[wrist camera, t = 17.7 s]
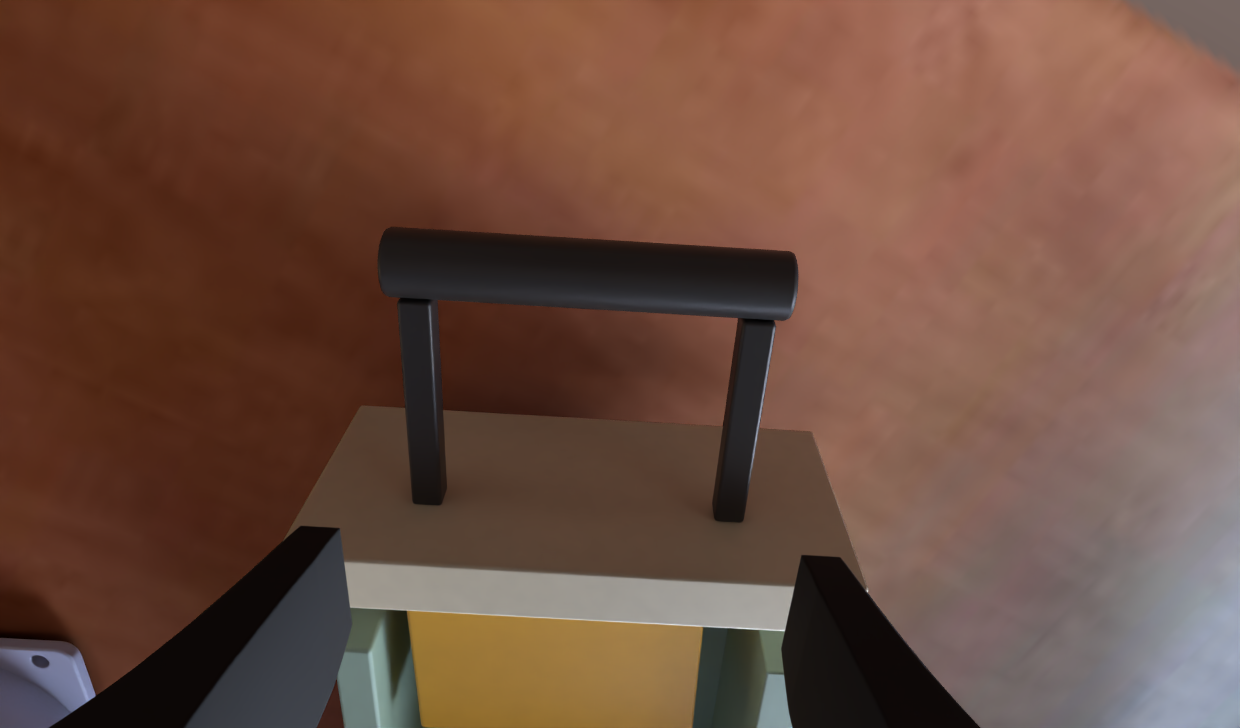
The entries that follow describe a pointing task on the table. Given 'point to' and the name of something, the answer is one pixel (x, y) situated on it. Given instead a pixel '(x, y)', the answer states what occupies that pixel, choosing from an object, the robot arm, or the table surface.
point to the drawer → (577, 480)
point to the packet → (552, 672)
